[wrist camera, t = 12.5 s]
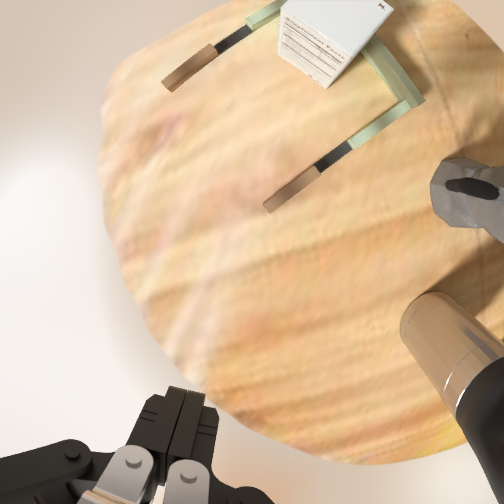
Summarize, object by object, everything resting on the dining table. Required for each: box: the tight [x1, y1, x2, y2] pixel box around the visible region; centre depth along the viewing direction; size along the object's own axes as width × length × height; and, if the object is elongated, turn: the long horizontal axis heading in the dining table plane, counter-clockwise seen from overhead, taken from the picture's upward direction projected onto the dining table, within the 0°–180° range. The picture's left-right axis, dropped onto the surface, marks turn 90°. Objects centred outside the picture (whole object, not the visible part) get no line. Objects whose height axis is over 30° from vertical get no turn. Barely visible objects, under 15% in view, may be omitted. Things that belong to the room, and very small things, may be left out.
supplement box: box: [277, 0, 394, 89], centre depth 26 cm, size 7×7×13 cm
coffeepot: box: [430, 157, 504, 244], centre depth 27 cm, size 15×9×18 cm, turn 82°
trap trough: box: [161, 0, 426, 213], centre depth 31 cm, size 22×19×4 cm
